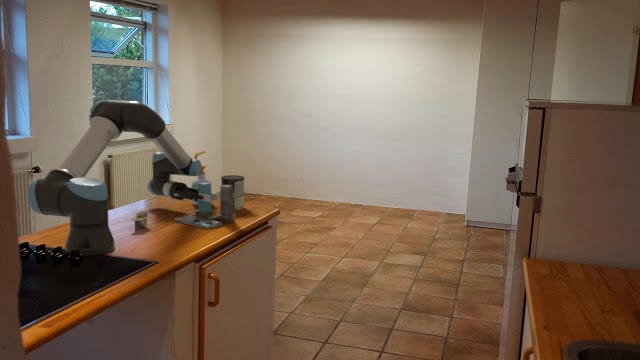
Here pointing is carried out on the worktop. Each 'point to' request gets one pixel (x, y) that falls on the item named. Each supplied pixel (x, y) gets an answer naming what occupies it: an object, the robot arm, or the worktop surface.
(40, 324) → the worktop surface
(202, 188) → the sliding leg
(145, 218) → the potted plant
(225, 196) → the grey l-shaped piece
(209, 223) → the plate
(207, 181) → the soap bottle
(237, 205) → the coffee can
